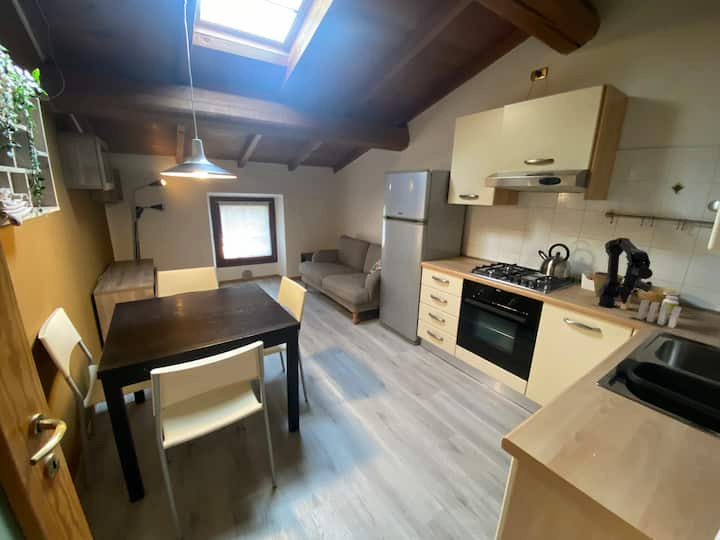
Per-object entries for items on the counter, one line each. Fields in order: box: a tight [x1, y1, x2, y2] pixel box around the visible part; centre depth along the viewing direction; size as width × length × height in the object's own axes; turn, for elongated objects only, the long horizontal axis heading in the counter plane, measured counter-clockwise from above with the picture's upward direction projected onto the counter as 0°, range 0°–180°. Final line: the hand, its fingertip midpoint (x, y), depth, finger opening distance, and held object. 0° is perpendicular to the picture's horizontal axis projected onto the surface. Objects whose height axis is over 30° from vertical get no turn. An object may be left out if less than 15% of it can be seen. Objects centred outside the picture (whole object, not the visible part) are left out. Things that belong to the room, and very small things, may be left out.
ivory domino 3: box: [656, 304, 670, 326], centre depth 150 cm, size 2×5×10 cm, turn 123°
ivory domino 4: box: [667, 306, 682, 329], centre depth 147 cm, size 2×5×10 cm, turn 123°
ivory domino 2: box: [646, 301, 660, 323], centre depth 153 cm, size 2×5×10 cm, turn 123°
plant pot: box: [593, 271, 624, 299], centre depth 190 cm, size 15×15×16 cm
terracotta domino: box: [619, 294, 632, 310], centre depth 157 cm, size 2×5×10 cm, turn 123°
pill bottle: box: [659, 294, 680, 318], centre depth 163 cm, size 6×6×11 cm
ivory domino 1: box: [636, 299, 650, 320], centre depth 157 cm, size 2×5×10 cm, turn 123°
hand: (625, 302), depth 157 cm, fingers closed on terracotta domino, 5 cm apart
